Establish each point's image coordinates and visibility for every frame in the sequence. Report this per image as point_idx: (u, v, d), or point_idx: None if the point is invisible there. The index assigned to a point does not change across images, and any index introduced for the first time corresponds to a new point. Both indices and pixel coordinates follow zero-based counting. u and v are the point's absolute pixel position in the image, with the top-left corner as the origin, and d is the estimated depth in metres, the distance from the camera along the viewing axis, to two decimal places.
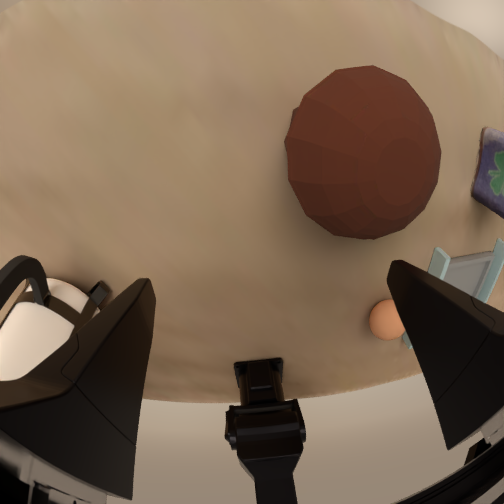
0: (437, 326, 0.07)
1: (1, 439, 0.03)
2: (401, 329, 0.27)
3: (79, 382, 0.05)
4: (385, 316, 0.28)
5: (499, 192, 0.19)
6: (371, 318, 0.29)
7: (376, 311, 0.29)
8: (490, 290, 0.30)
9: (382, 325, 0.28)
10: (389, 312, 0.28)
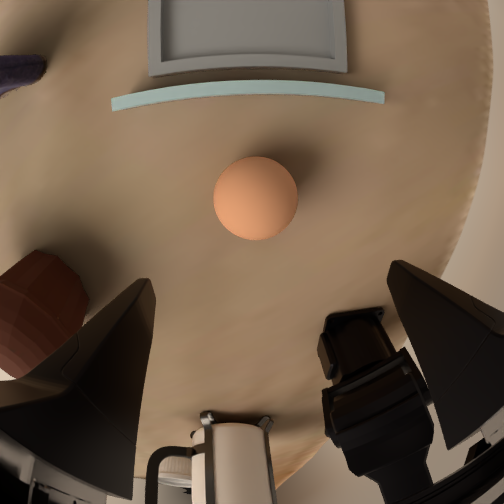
0: (437, 326, 0.07)
1: (1, 440, 0.03)
2: (246, 206, 0.14)
3: (79, 382, 0.05)
4: None
5: None
6: None
7: None
8: None
9: (242, 236, 0.16)
10: (219, 219, 0.16)
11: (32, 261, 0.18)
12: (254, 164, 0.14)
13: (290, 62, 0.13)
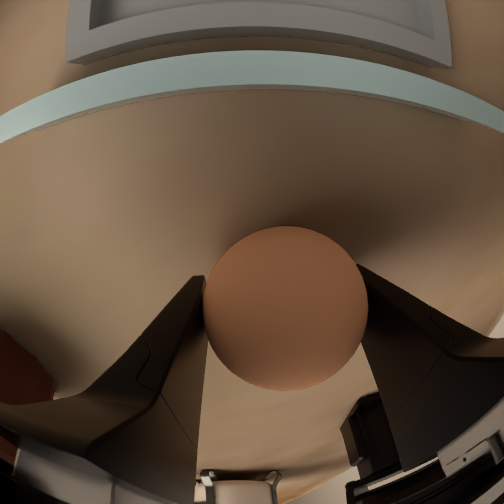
0: (389, 339, 0.07)
1: (63, 468, 0.03)
2: (274, 365, 0.06)
3: (159, 390, 0.05)
4: None
5: None
6: None
7: None
8: None
9: None
10: None
11: None
12: (292, 264, 0.06)
13: (361, 29, 0.05)
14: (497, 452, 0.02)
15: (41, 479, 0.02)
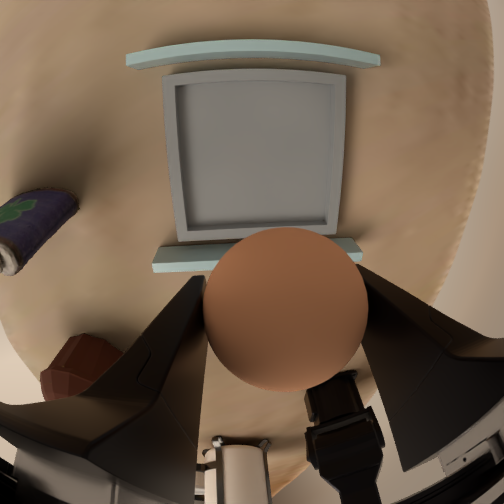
0: (389, 339, 0.07)
1: (64, 468, 0.03)
2: (275, 367, 0.06)
3: (159, 390, 0.05)
4: None
5: None
6: None
7: None
8: (257, 47, 0.13)
9: None
10: None
11: (86, 346, 0.25)
12: (292, 265, 0.06)
13: None
14: (497, 452, 0.02)
15: (41, 479, 0.02)
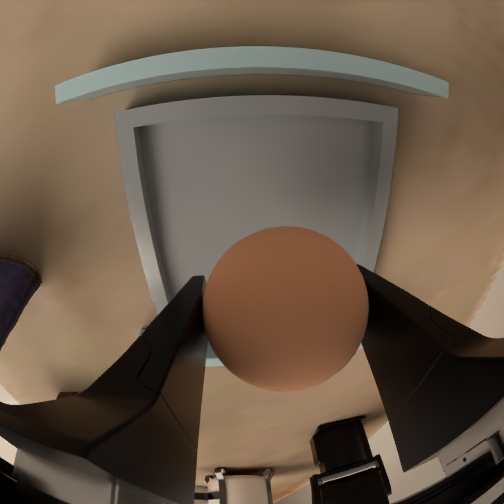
0: (389, 339, 0.07)
1: (64, 468, 0.03)
2: (275, 366, 0.06)
3: (159, 390, 0.05)
4: None
5: None
6: None
7: None
8: (267, 60, 0.07)
9: None
10: None
11: None
12: (293, 264, 0.06)
13: None
14: (497, 452, 0.02)
15: (41, 479, 0.02)
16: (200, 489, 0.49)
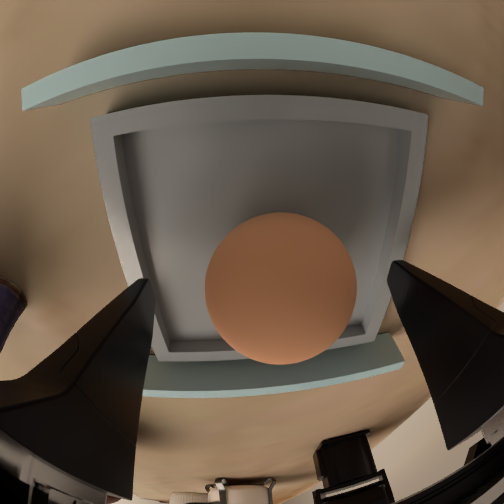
0: (437, 326, 0.07)
1: (1, 439, 0.03)
2: (270, 334, 0.07)
3: (79, 382, 0.05)
4: None
5: None
6: None
7: None
8: (278, 50, 0.06)
9: None
10: None
11: None
12: (285, 242, 0.07)
13: None
14: None
15: None
16: (200, 496, 0.47)
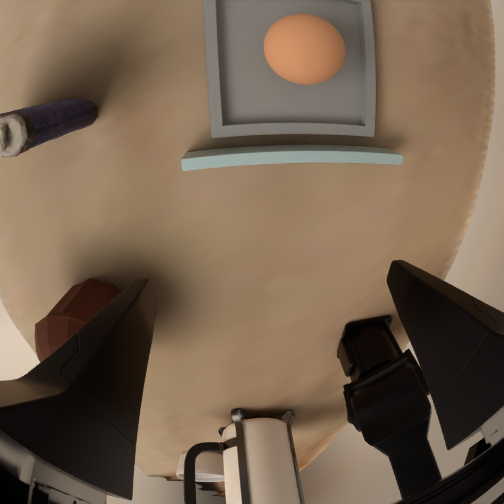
0: (437, 326, 0.07)
1: (1, 440, 0.03)
2: (305, 34, 0.11)
3: (79, 382, 0.05)
4: (279, 66, 0.13)
5: None
6: (296, 83, 0.15)
7: None
8: None
9: (297, 72, 0.13)
10: (272, 59, 0.13)
11: (90, 291, 0.22)
12: None
13: (330, 130, 0.18)
14: None
15: None
16: (211, 454, 0.52)
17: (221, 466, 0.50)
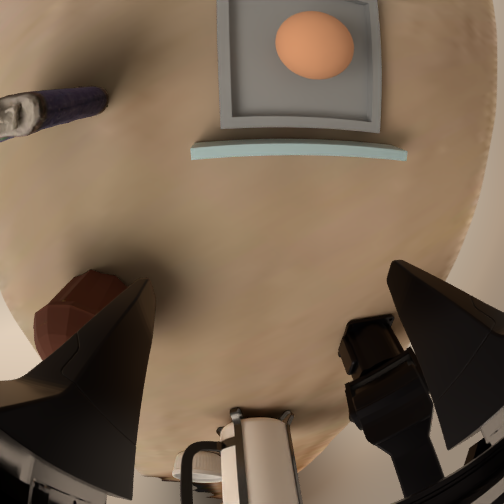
0: (437, 326, 0.07)
1: (1, 439, 0.03)
2: (317, 29, 0.11)
3: (78, 382, 0.05)
4: (291, 60, 0.13)
5: None
6: (306, 77, 0.15)
7: None
8: None
9: (308, 66, 0.13)
10: (284, 52, 0.13)
11: (92, 281, 0.22)
12: (316, 11, 0.11)
13: (337, 125, 0.18)
14: None
15: None
16: (208, 454, 0.51)
17: (218, 467, 0.49)
